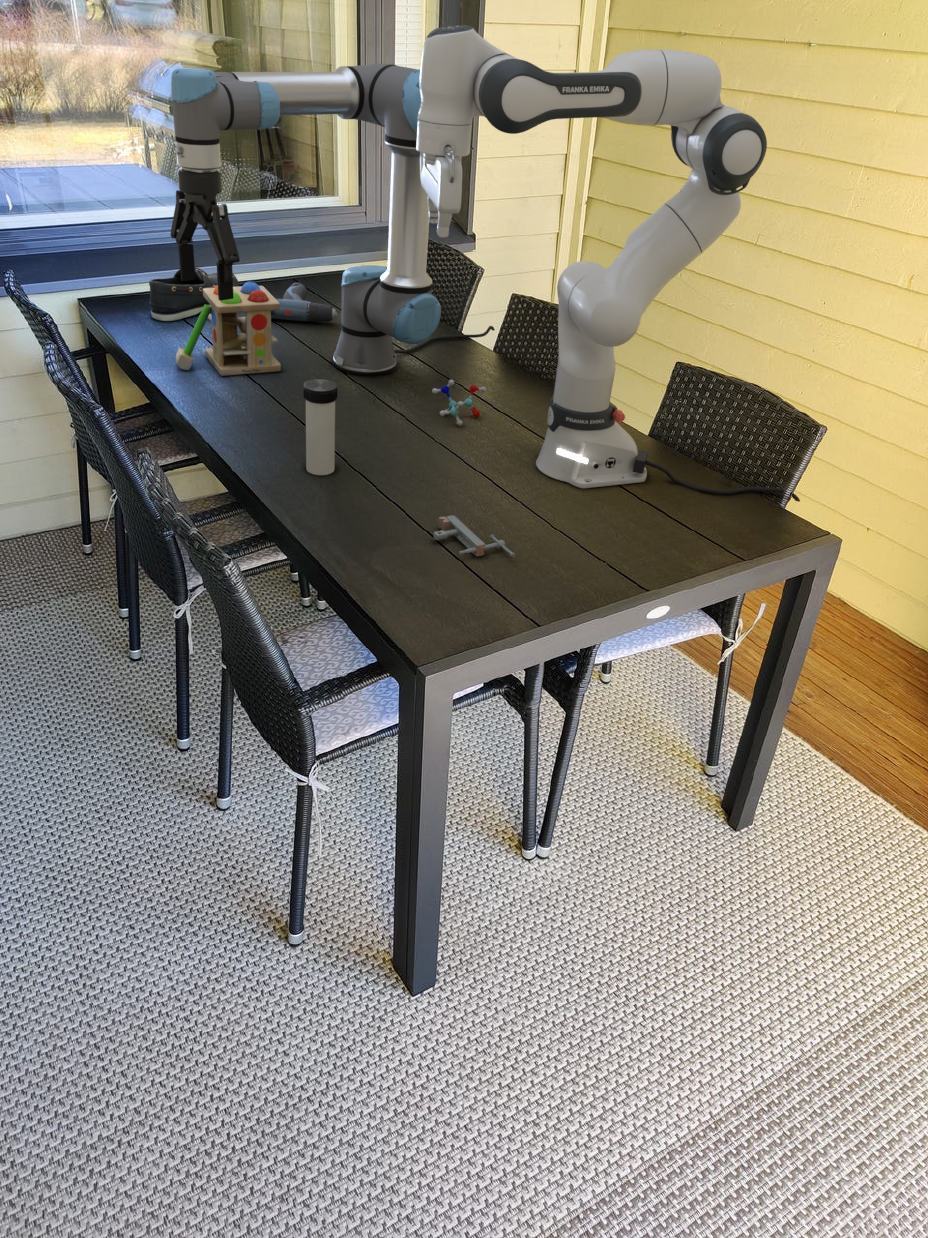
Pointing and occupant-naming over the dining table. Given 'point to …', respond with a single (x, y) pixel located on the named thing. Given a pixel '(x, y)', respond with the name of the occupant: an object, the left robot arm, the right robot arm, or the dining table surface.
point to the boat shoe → (181, 295)
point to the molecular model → (454, 405)
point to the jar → (320, 438)
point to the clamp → (466, 537)
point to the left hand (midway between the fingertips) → (206, 289)
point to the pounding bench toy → (229, 347)
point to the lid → (320, 391)
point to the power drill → (301, 307)
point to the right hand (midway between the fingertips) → (437, 229)
